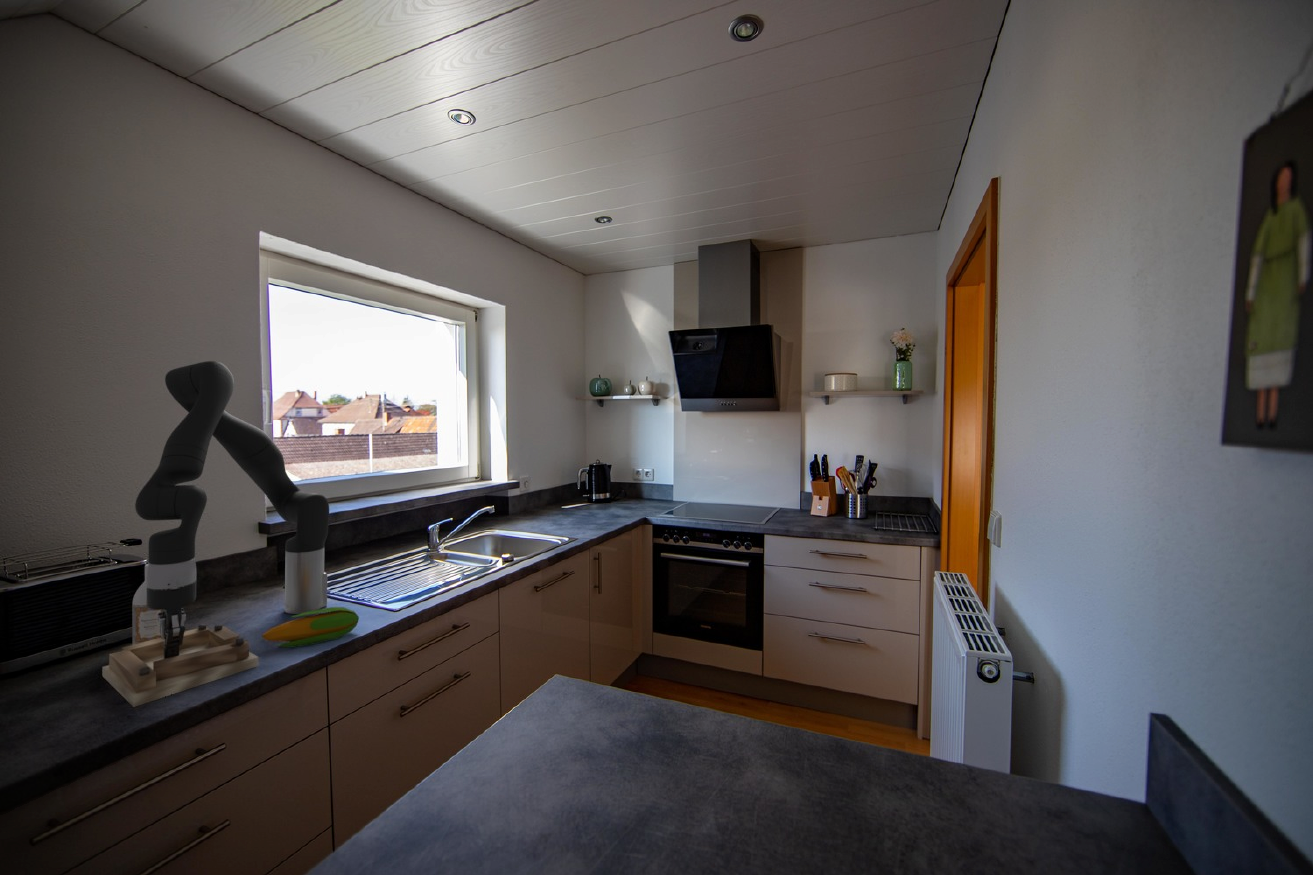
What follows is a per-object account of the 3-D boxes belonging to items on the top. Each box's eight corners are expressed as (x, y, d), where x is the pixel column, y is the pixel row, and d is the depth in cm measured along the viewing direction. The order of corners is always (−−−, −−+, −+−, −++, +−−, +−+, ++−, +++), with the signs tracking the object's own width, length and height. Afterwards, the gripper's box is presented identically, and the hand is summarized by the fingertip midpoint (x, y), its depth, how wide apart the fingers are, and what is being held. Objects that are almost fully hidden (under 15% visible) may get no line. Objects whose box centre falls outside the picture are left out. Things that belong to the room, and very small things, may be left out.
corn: (361, 606, 132) (262, 623, 119) (361, 636, 132) (262, 657, 119) (356, 599, 138) (261, 615, 125) (356, 628, 138) (261, 647, 125)
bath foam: (128, 658, 117) (128, 569, 116) (137, 646, 122) (137, 562, 122) (170, 651, 120) (170, 566, 120) (176, 640, 126) (176, 558, 125)
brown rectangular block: (247, 652, 117) (247, 634, 117) (250, 657, 115) (250, 638, 114) (153, 675, 106) (153, 655, 105) (154, 681, 103) (154, 660, 103)
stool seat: (220, 642, 126) (221, 618, 126) (258, 665, 115) (258, 639, 115) (102, 676, 109) (102, 647, 109) (133, 706, 98) (133, 675, 98)
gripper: (142, 576, 109) (142, 657, 110) (150, 594, 100) (150, 681, 102) (190, 569, 115) (189, 646, 116) (202, 585, 106) (201, 668, 107)
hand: (171, 662), depth 109 cm, fingers closed
